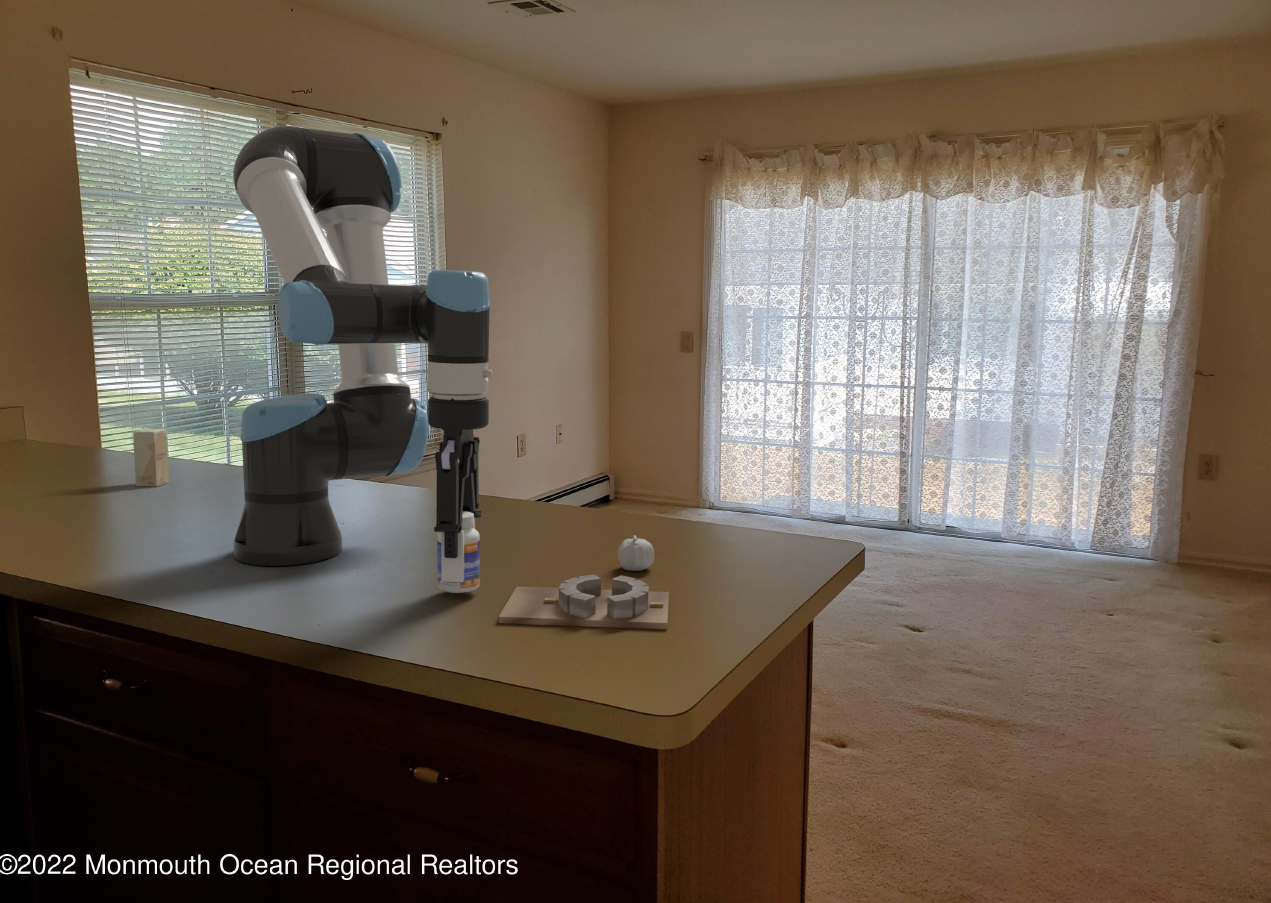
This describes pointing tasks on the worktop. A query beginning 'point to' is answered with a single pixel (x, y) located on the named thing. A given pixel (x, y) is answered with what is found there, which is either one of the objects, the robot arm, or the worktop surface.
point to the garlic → (635, 554)
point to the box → (150, 457)
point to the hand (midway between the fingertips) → (458, 573)
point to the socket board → (555, 616)
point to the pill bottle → (470, 559)
